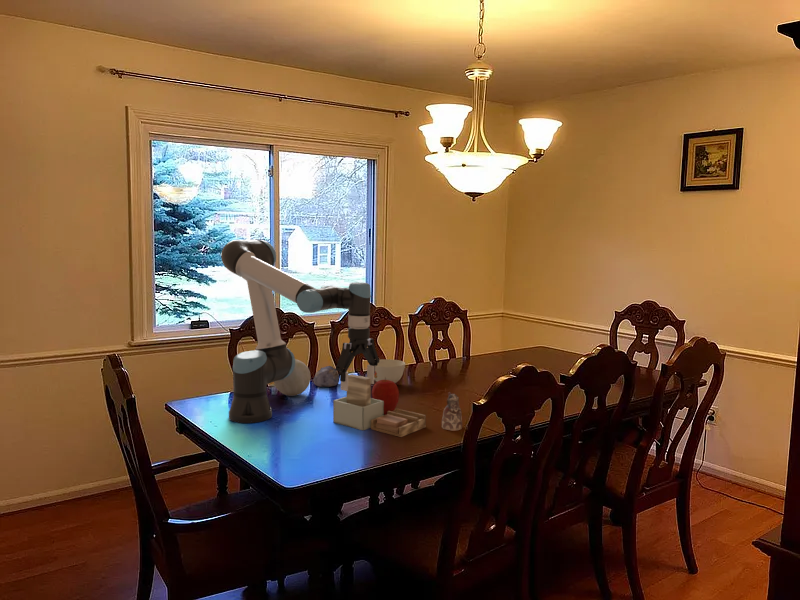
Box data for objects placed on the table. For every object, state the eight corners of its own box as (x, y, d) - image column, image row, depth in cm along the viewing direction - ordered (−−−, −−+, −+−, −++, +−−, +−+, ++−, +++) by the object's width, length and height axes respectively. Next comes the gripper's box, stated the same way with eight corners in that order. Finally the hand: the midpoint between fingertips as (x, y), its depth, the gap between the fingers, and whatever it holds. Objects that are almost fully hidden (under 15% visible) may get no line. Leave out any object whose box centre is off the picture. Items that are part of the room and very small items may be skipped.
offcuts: (397, 433, 206) (397, 423, 206) (375, 427, 212) (375, 418, 212) (410, 428, 212) (411, 419, 212) (389, 422, 218) (389, 413, 218)
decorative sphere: (299, 401, 246) (299, 364, 244) (266, 398, 251) (266, 361, 249) (316, 392, 260) (316, 357, 259) (285, 389, 265) (284, 354, 263)
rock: (342, 376, 278) (334, 359, 273) (337, 392, 270) (330, 375, 265) (319, 380, 281) (312, 363, 276) (314, 395, 272) (307, 378, 267)
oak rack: (400, 437, 205) (400, 424, 204) (370, 429, 213) (371, 416, 212) (425, 427, 216) (425, 415, 215) (396, 419, 224) (396, 408, 223)
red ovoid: (404, 413, 232) (404, 377, 230) (385, 419, 225) (385, 381, 223) (384, 407, 239) (385, 372, 237) (365, 413, 232) (366, 376, 230)
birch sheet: (365, 424, 216) (366, 379, 214) (346, 419, 222) (346, 375, 220) (370, 422, 218) (370, 378, 216) (351, 417, 223) (351, 374, 222)
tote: (362, 430, 211) (363, 407, 210) (333, 422, 220) (333, 400, 219) (383, 423, 220) (383, 401, 219) (354, 415, 228) (354, 394, 228)
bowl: (410, 388, 270) (410, 365, 269) (375, 391, 264) (375, 368, 263) (397, 379, 285) (397, 358, 284) (363, 382, 279) (364, 360, 278)
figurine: (445, 431, 212) (446, 396, 210) (438, 425, 218) (439, 391, 217) (465, 429, 214) (466, 395, 212) (457, 423, 220) (458, 390, 219)
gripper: (342, 332, 204) (340, 395, 207) (390, 324, 224) (388, 382, 226) (325, 329, 209) (324, 391, 211) (374, 322, 228) (372, 378, 231)
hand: (357, 386), depth 219 cm, fingers open, 13 cm apart
